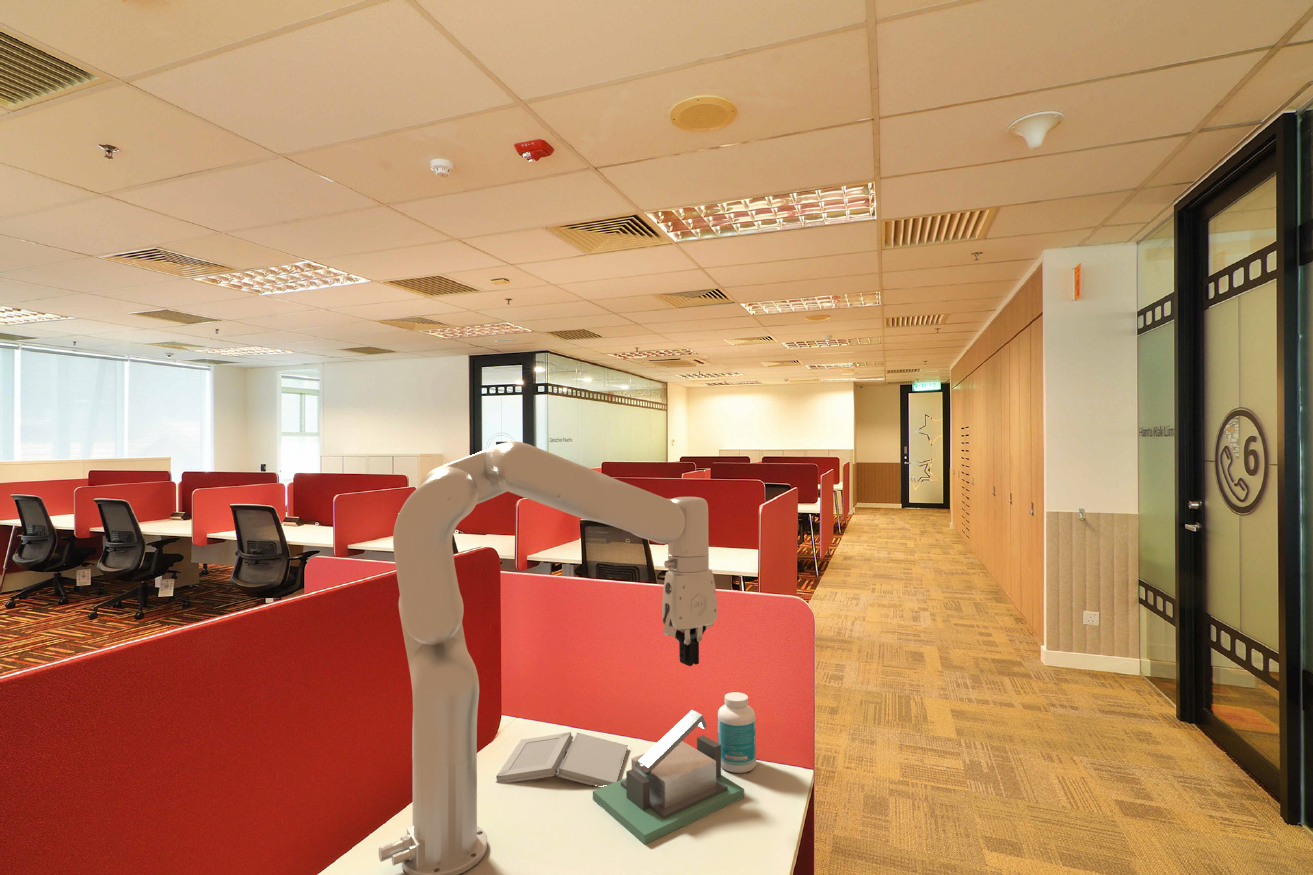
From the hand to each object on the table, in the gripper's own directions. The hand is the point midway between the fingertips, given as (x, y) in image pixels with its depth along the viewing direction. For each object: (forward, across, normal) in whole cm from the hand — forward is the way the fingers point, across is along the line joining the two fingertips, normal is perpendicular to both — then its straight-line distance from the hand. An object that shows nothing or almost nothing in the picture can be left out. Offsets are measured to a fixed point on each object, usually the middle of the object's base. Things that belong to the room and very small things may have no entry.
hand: (689, 662), depth 115 cm
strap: (+15, -4, 0) cm, 15 cm away
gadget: (+24, -14, +22) cm, 35 cm away
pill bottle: (+23, +13, +1) cm, 27 cm away
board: (+23, -5, 0) cm, 24 cm away
